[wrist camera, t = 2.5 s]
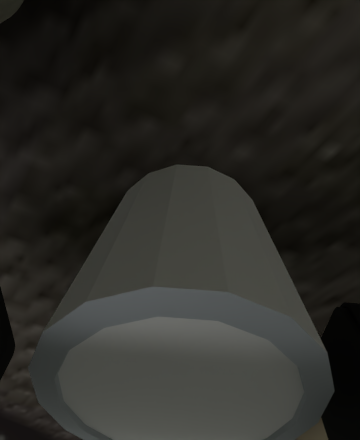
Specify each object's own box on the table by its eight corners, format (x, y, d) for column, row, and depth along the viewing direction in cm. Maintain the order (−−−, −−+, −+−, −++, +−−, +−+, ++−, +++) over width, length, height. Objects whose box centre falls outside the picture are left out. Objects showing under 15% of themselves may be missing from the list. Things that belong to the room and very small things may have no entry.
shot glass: (199, 314, 16) (201, 492, 10) (70, 240, 14) (-20, 409, 8) (312, 218, 13) (407, 394, 7) (168, 106, 11) (134, 223, 5)
